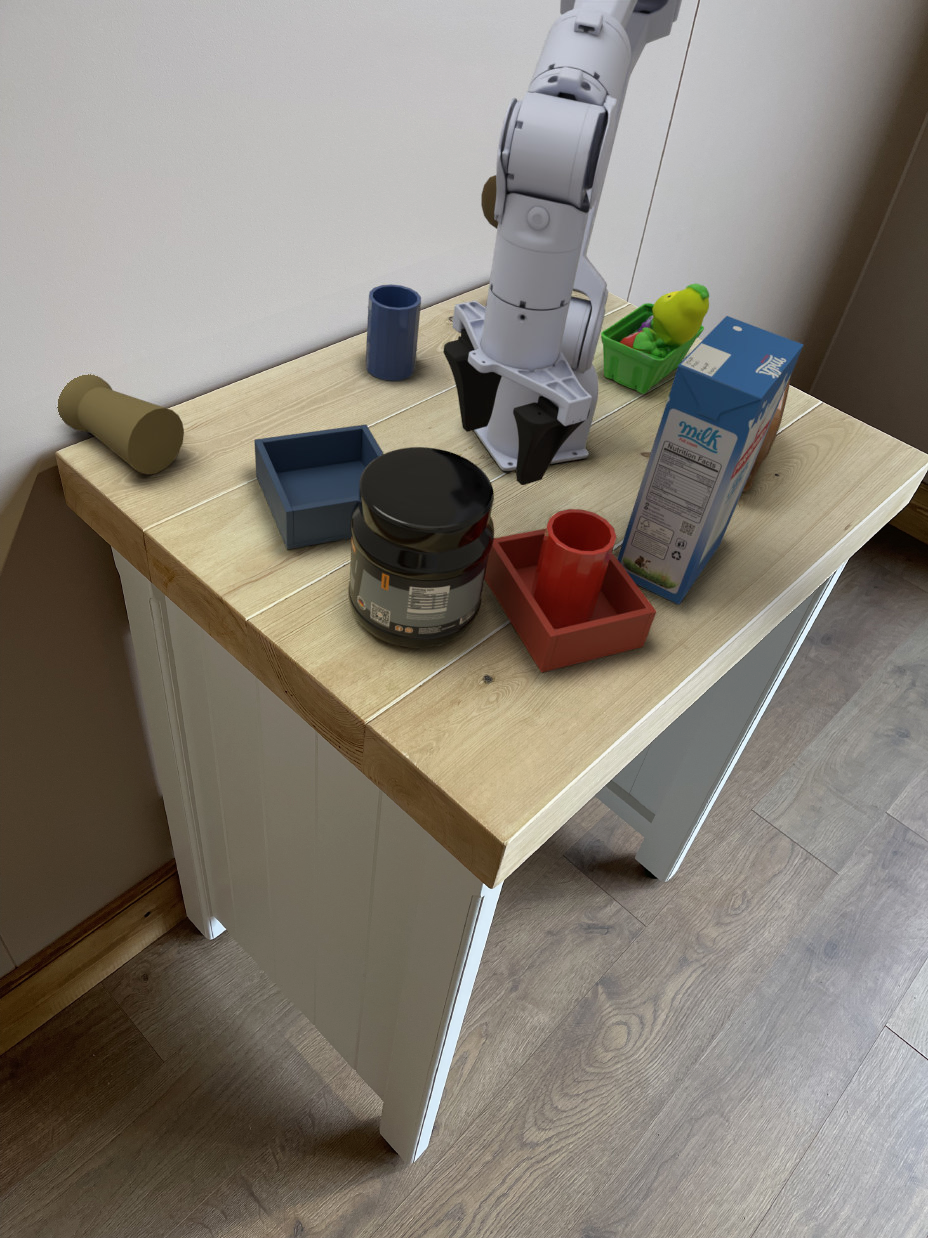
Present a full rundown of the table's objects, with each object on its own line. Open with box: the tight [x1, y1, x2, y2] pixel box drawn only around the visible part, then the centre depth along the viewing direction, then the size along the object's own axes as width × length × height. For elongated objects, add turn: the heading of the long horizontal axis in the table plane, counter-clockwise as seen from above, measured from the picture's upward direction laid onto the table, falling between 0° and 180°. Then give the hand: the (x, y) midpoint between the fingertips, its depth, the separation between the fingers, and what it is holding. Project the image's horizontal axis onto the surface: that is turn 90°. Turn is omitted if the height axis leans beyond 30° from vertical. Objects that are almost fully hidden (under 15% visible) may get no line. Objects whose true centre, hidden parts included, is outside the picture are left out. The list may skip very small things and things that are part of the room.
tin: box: [742, 380, 791, 493], centre depth 90 cm, size 15×3×8 cm, turn 159°
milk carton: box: [616, 315, 804, 606], centre depth 74 cm, size 10×6×20 cm, turn 148°
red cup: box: [531, 508, 617, 629], centre depth 71 cm, size 5×5×8 cm
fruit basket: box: [600, 283, 710, 395], centre depth 99 cm, size 11×9×11 cm
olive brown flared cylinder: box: [56, 373, 185, 475], centre depth 81 cm, size 6×6×11 cm
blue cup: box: [365, 284, 422, 382], centre depth 95 cm, size 5×5×8 cm
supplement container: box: [347, 446, 495, 649], centre depth 69 cm, size 10×10×12 cm
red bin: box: [484, 527, 657, 673], centre depth 73 cm, size 9×11×4 cm
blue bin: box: [253, 423, 384, 550], centre depth 79 cm, size 10×10×4 cm
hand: (501, 452), depth 73 cm, fingers open, 7 cm apart
